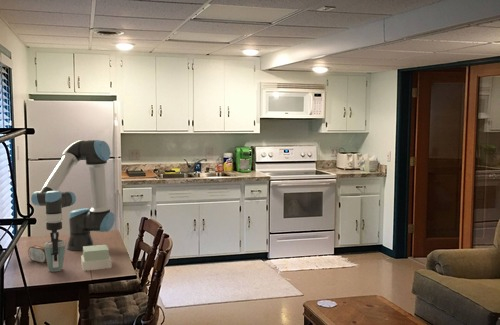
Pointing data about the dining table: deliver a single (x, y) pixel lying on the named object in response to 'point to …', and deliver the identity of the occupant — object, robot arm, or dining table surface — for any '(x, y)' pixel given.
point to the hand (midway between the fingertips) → (55, 264)
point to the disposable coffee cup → (49, 257)
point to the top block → (95, 252)
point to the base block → (95, 264)
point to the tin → (37, 254)
